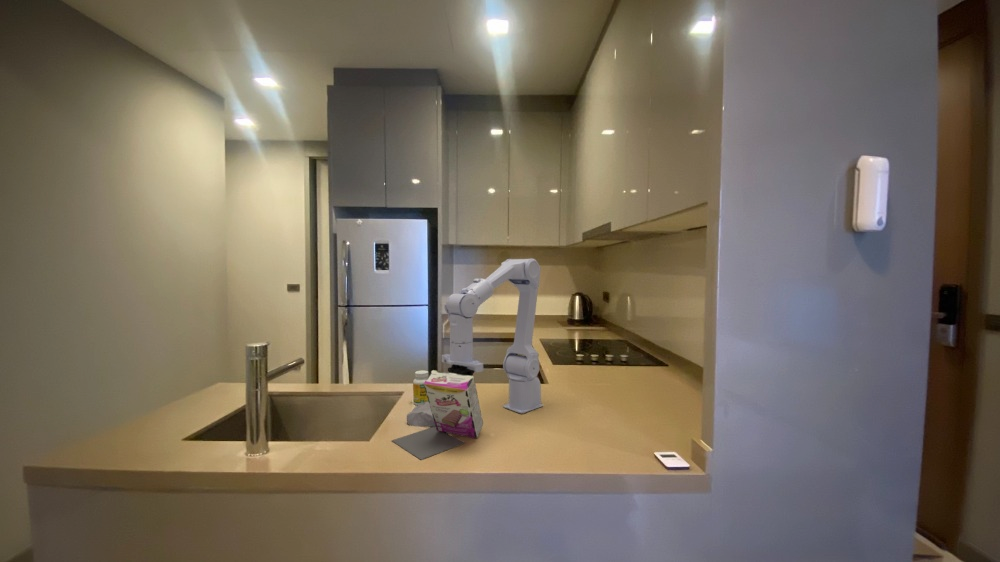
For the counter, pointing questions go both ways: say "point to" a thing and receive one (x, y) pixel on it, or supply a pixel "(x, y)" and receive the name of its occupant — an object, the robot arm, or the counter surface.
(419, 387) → the supplement bottle
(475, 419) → the candy bar box
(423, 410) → the stone block
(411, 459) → the counter surface
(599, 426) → the counter surface
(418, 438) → the mat
